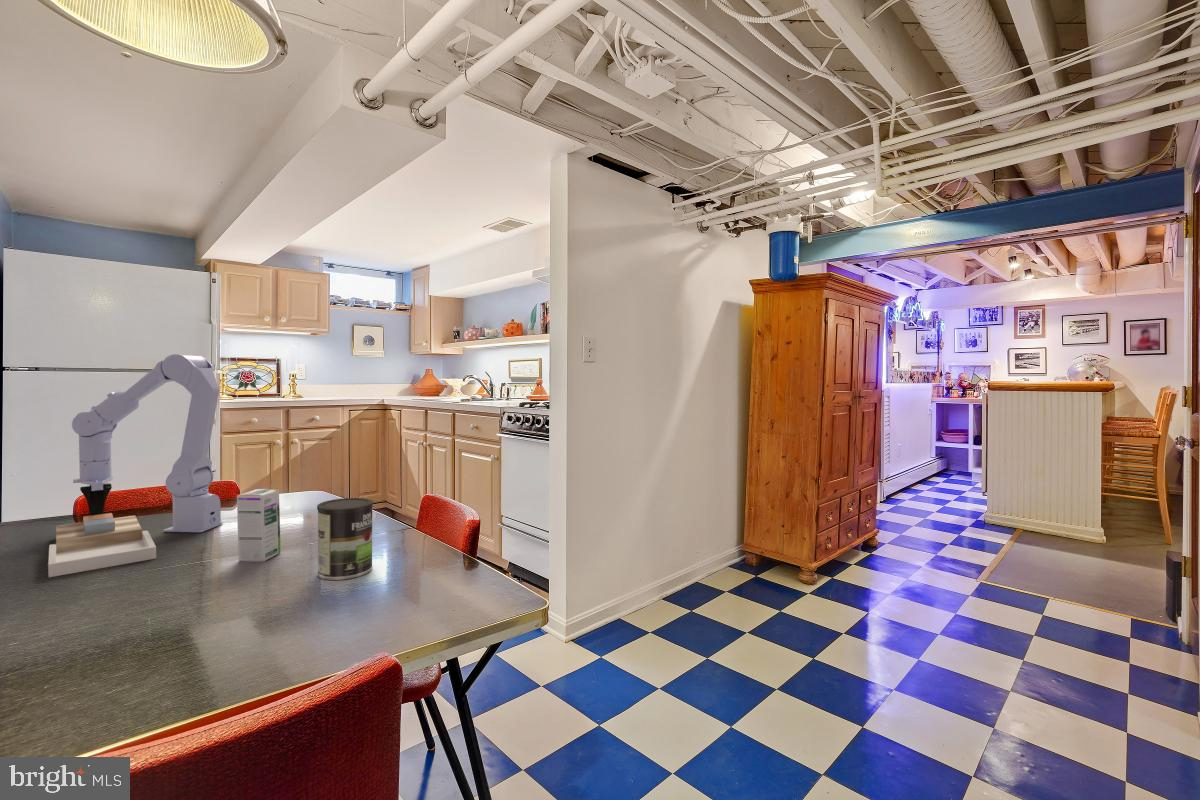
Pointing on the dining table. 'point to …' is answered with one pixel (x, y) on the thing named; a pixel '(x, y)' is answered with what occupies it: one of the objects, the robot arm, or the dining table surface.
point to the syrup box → (258, 525)
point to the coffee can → (344, 538)
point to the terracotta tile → (97, 517)
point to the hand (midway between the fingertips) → (96, 514)
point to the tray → (100, 556)
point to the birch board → (97, 535)
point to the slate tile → (99, 526)
